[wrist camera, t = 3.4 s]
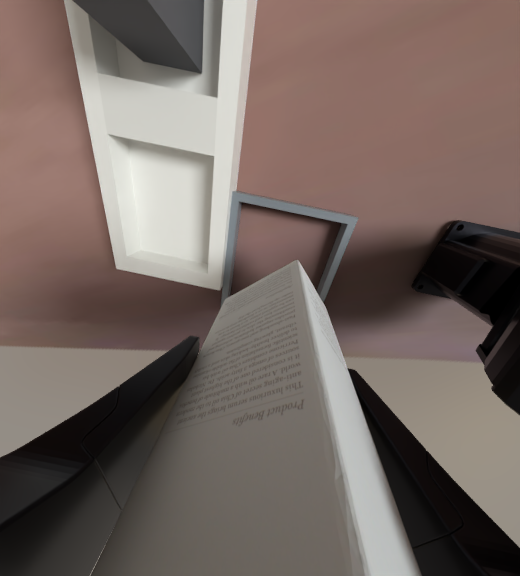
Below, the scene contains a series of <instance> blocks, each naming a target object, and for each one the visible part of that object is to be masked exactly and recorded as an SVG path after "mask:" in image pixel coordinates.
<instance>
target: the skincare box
mask: <svg viewBox="0 0 520 576" xmlns="http://www.w3.org/2000/svg"><path fill="white" fill-rule="evenodd" d="M91 576H422V575H421V572H420V569H419V566H418V564H417V561H416V558H415V555H414V553H413V550H412V547H411V544H410V542H409V539H408V536H407V533H406V531H405V528H404V525H403V522H402V519H401V517H400V514H399V511H398V508H397V505H396V503H395V500H394V497H393V494H392V491H391V489H390V486H389V483H388V480H387V477H386V474H385V472H384V469H383V466H382V463H381V461H380V458H379V455H378V452H377V450H376V447H375V444H374V441H373V438H372V435H371V433H370V430H369V428H368V425H367V422H366V419H365V416H364V413H363V411H362V408H361V405H360V402H359V399H358V397H357V394H356V391H355V388H354V385H353V383H352V380H351V377H350V374H349V371H348V369H347V366H346V363H345V360H344V357H343V354H342V352H341V349H340V346H339V343H338V340H337V338H336V335H335V332H334V329H333V326H332V324H331V321H330V318H329V315H328V312H327V309H326V307H325V305H324V303H323V302H322V300H321V298H320V297H319V295H318V293H317V291H316V290H315V288H314V286H313V284H312V283H311V281H310V279H309V277H308V276H307V274H306V272H305V270H304V269H303V267H302V265H301V264H300V262H299V261H298V260H295V261H293V262H291V263H290V264H288V265H286V266H284V267H282V268H281V269H279V270H277V271H275V272H273V273H271V274H270V275H268V276H266V277H264V278H262V279H261V280H259V281H257V282H255V283H254V284H252V285H250V286H248V287H246V288H245V289H243V290H241V291H239V292H237V293H236V294H234V295H232V296H230V297H228V298H226V299H225V300H224V303H223V305H222V307H221V309H220V311H219V313H218V315H217V317H216V319H215V321H214V323H213V325H212V327H211V329H210V331H209V333H208V335H207V338H206V340H205V342H204V344H203V346H202V348H201V350H200V352H199V354H198V356H197V358H196V360H195V362H194V365H193V367H192V369H191V370H190V373H189V375H188V377H187V379H186V381H185V383H184V385H183V387H182V389H181V391H180V393H179V395H178V397H177V399H176V402H175V403H174V405H173V407H172V409H171V412H170V414H169V416H168V418H167V420H166V422H165V424H164V426H163V428H162V430H161V432H160V434H159V436H158V438H157V440H156V442H155V444H154V447H153V449H152V451H151V453H150V455H149V457H148V459H147V461H146V463H145V465H144V467H143V469H142V471H141V473H140V475H139V477H138V479H137V481H136V483H135V485H134V487H133V489H132V491H131V493H130V495H129V497H128V499H127V501H126V503H125V506H124V508H123V510H122V512H121V514H120V516H119V518H118V520H117V522H116V524H115V526H114V529H113V531H112V533H111V535H110V537H109V539H108V541H107V543H106V545H105V547H104V549H103V551H102V553H101V555H100V558H99V560H98V562H97V564H96V566H95V568H94V570H93V572H92V574H91Z"/></svg>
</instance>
